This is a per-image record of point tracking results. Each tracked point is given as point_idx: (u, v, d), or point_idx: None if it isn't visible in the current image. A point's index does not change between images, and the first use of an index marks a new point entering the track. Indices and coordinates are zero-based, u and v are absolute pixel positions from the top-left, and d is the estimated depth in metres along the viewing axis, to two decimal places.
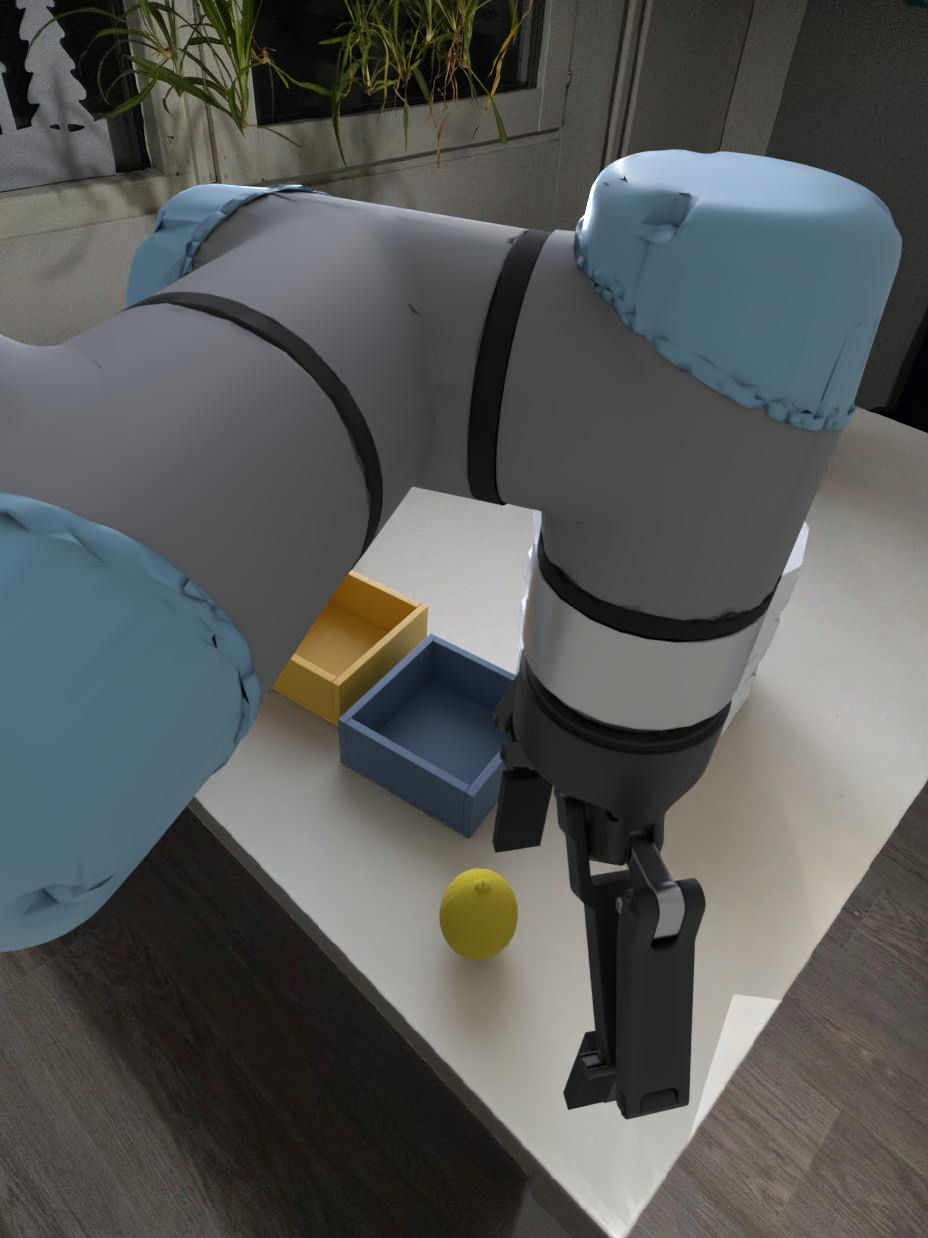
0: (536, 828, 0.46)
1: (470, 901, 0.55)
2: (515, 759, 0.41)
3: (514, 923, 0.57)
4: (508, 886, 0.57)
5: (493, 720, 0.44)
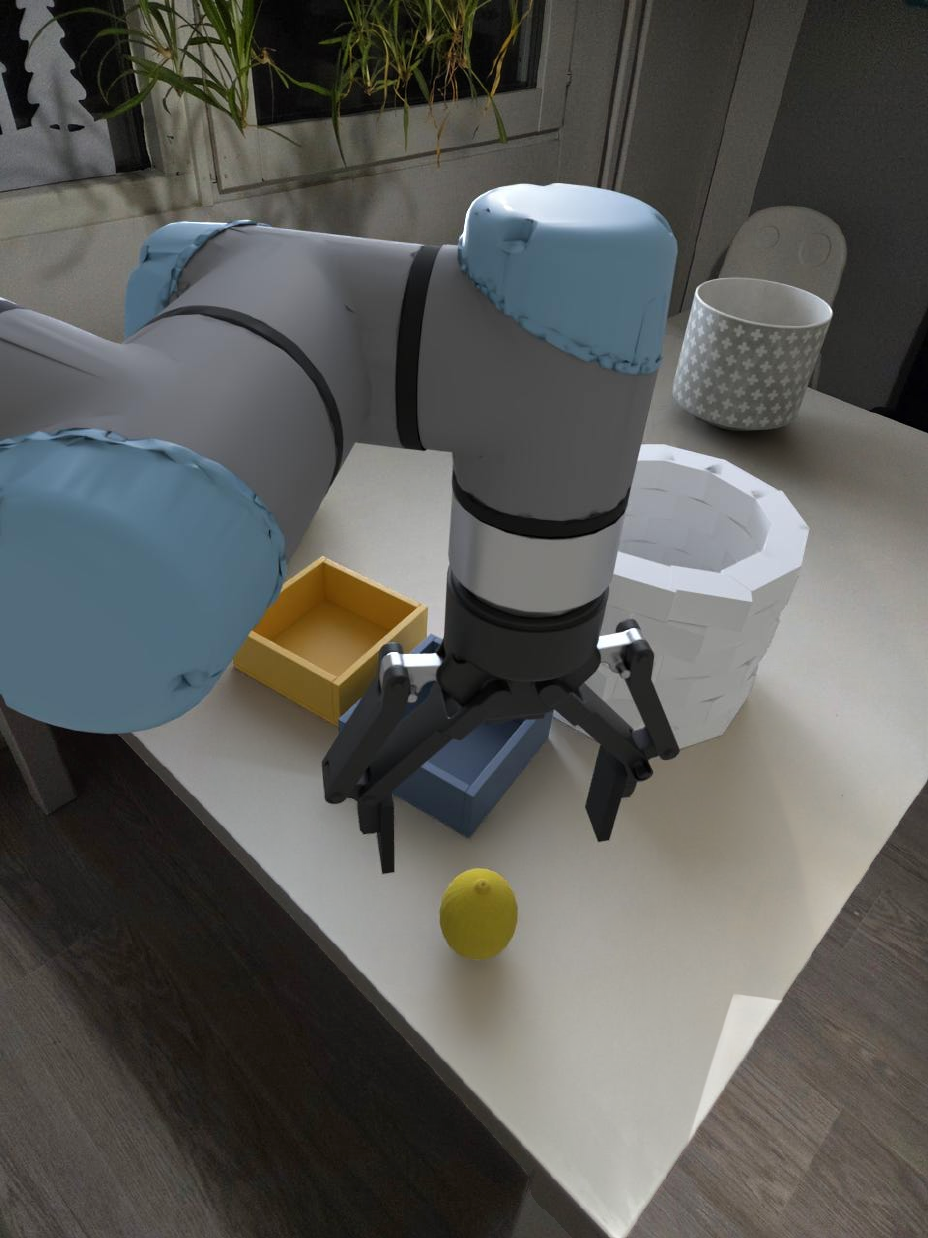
0: None
1: (470, 901, 0.55)
2: (402, 776, 0.44)
3: (514, 923, 0.57)
4: (508, 886, 0.57)
5: (335, 798, 0.44)
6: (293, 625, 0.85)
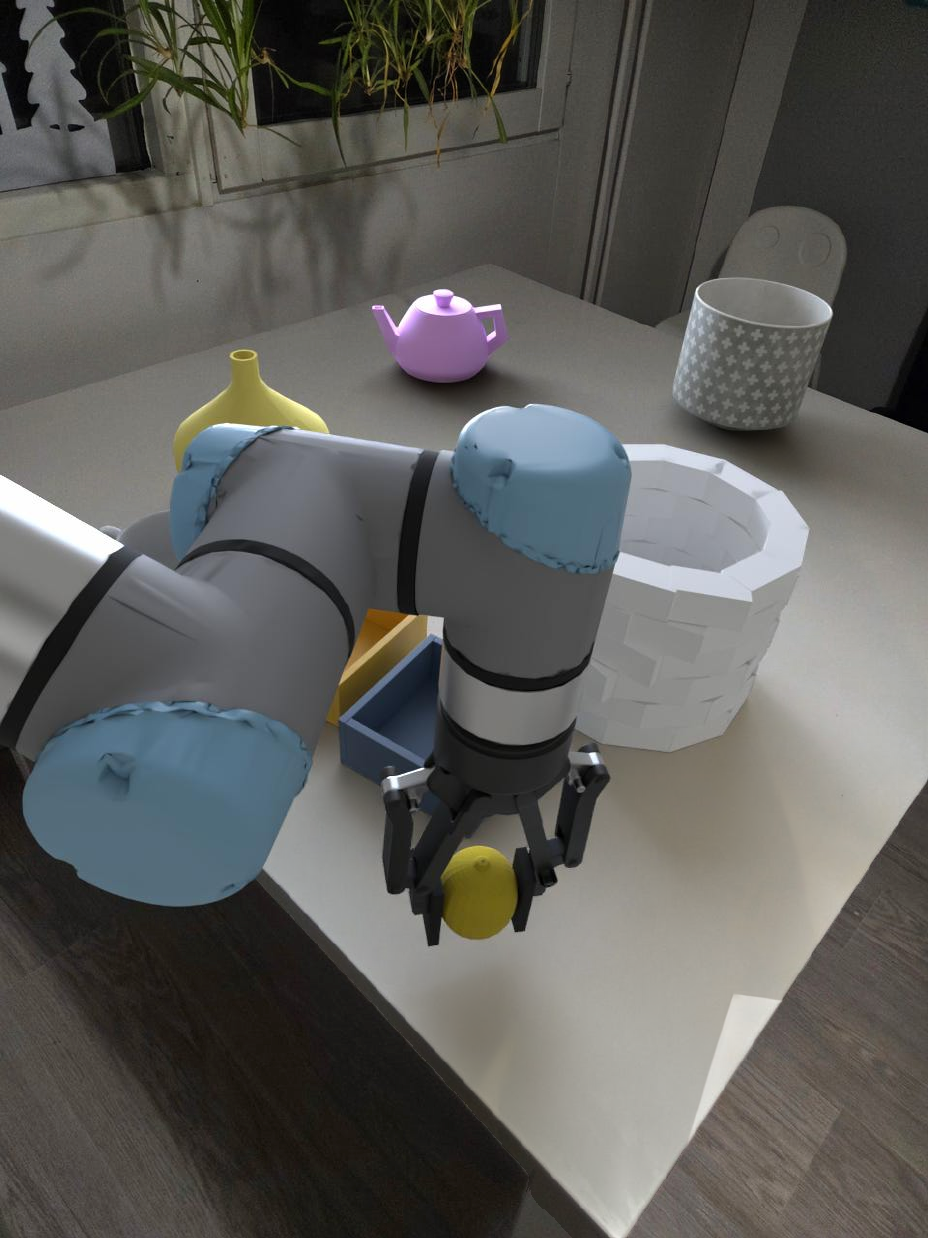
0: None
1: (470, 878, 0.53)
2: (440, 869, 0.51)
3: (514, 902, 0.55)
4: (508, 864, 0.55)
5: (396, 891, 0.51)
6: None
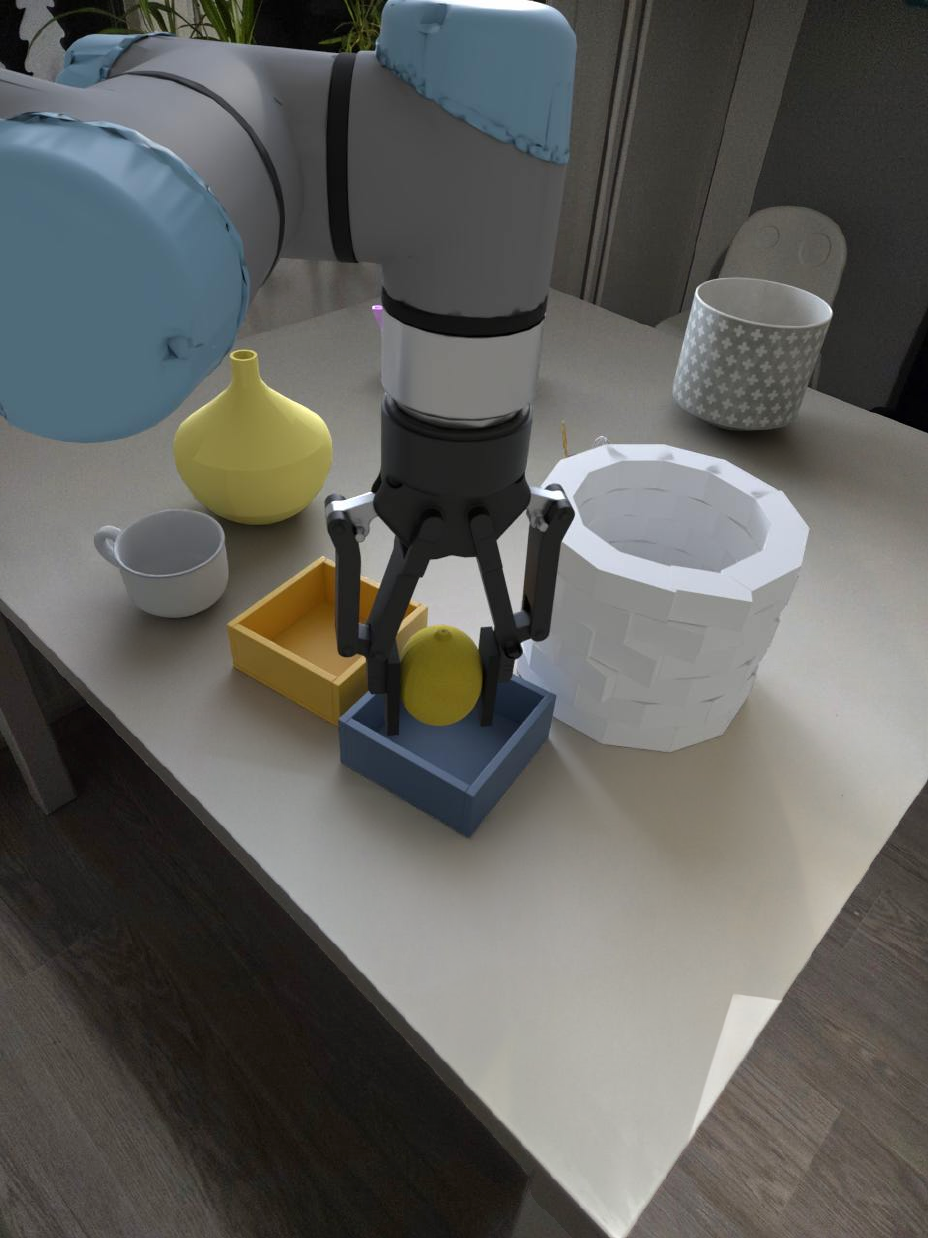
0: None
1: (429, 648, 0.50)
2: (394, 625, 0.48)
3: (478, 680, 0.51)
4: (472, 641, 0.52)
5: (347, 651, 0.48)
6: (293, 625, 0.85)
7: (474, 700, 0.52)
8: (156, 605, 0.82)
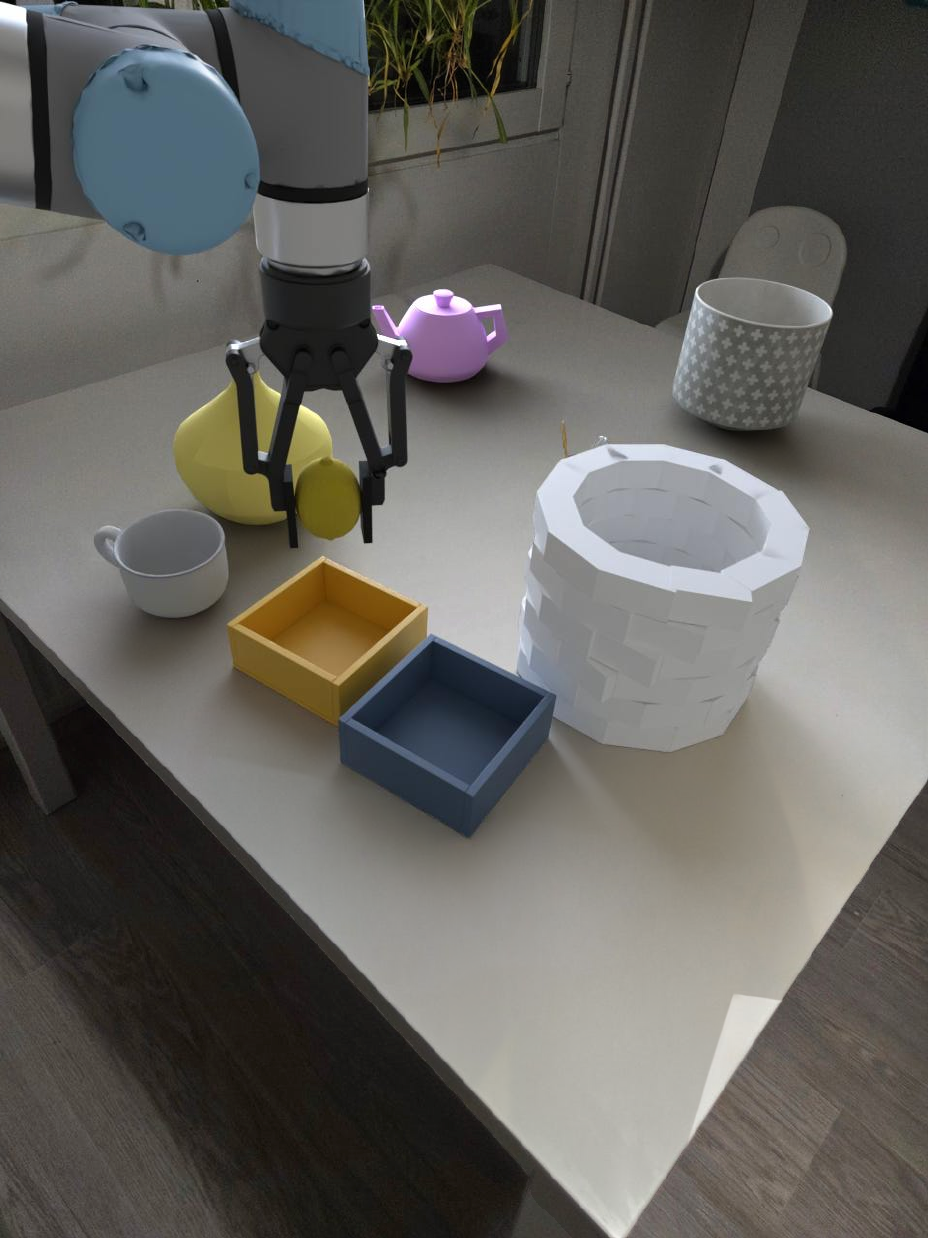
0: None
1: (315, 470, 0.66)
2: (284, 447, 0.63)
3: (355, 498, 0.67)
4: (351, 469, 0.68)
5: (250, 468, 0.64)
6: (293, 625, 0.85)
7: (353, 515, 0.68)
8: (156, 605, 0.82)
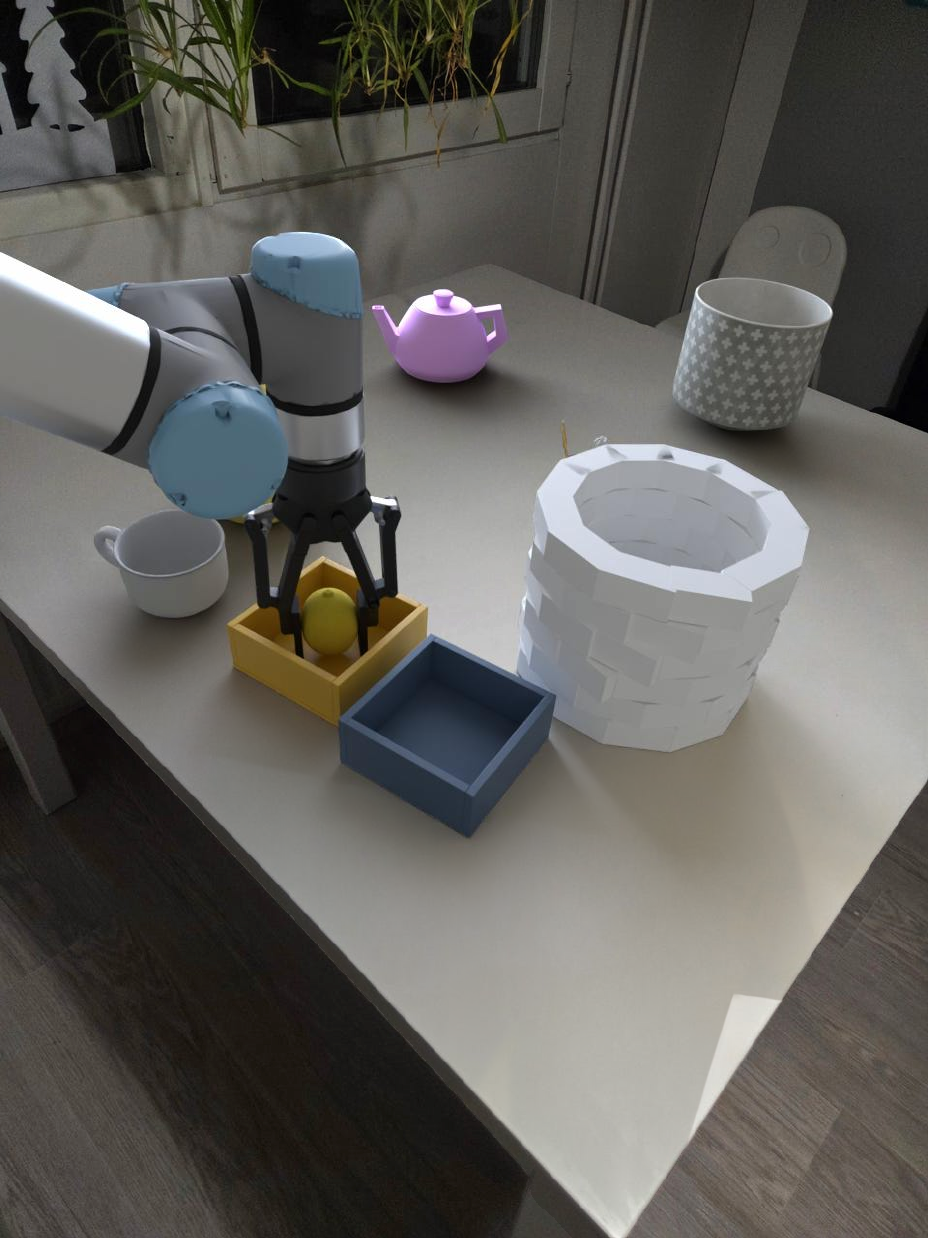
0: None
1: (318, 602, 0.77)
2: (292, 587, 0.74)
3: (353, 623, 0.78)
4: (349, 598, 0.78)
5: (263, 604, 0.75)
6: None
7: (352, 637, 0.79)
8: (156, 605, 0.82)
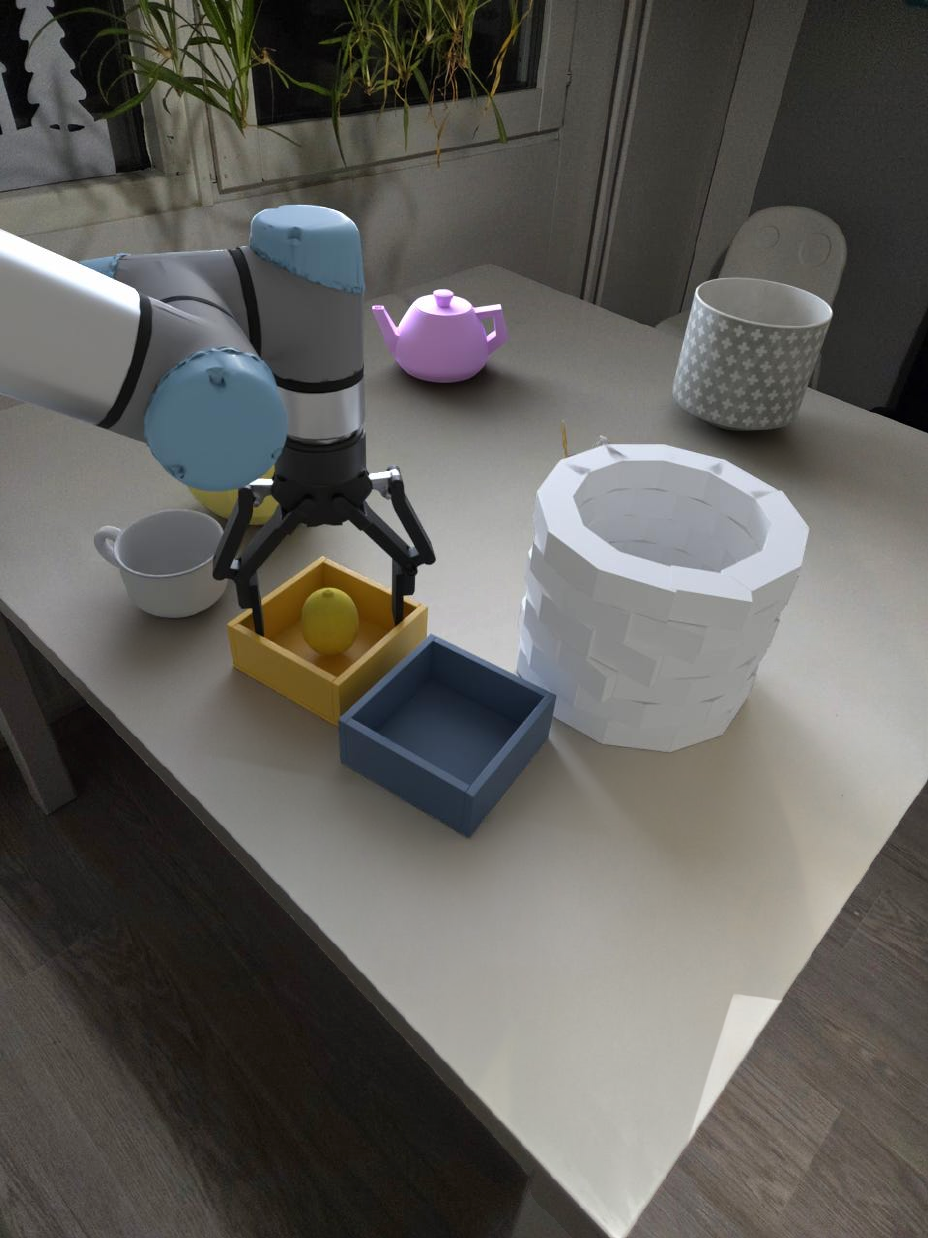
0: None
1: (318, 602, 0.77)
2: (259, 562, 0.72)
3: (353, 623, 0.78)
4: (349, 598, 0.78)
5: (219, 575, 0.72)
6: (293, 625, 0.85)
7: (351, 637, 0.79)
8: (156, 605, 0.82)
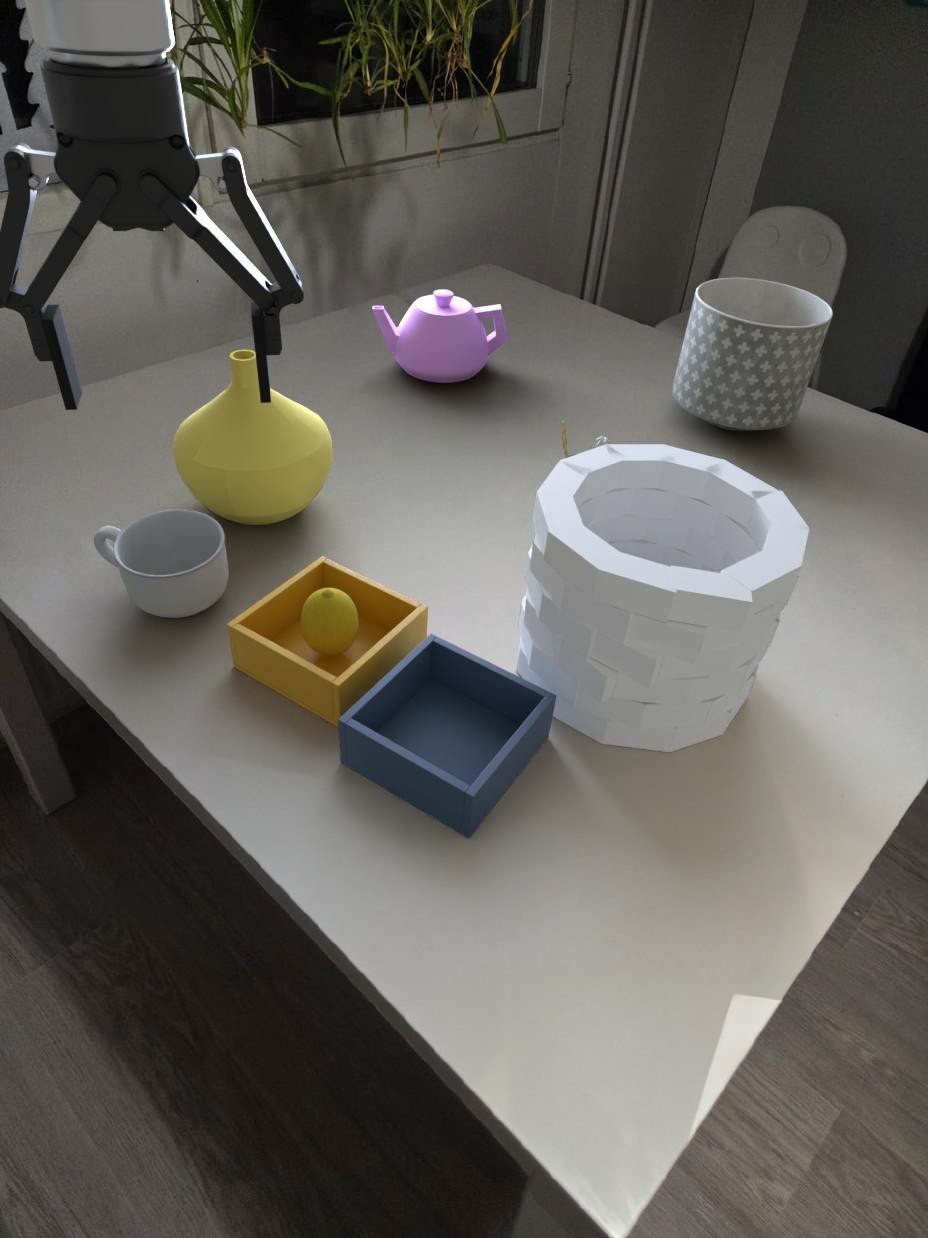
0: (75, 371, 0.59)
1: (318, 602, 0.77)
2: (50, 282, 0.53)
3: (353, 623, 0.78)
4: (349, 598, 0.78)
5: None
6: (293, 625, 0.85)
7: (351, 637, 0.79)
8: (156, 605, 0.82)
